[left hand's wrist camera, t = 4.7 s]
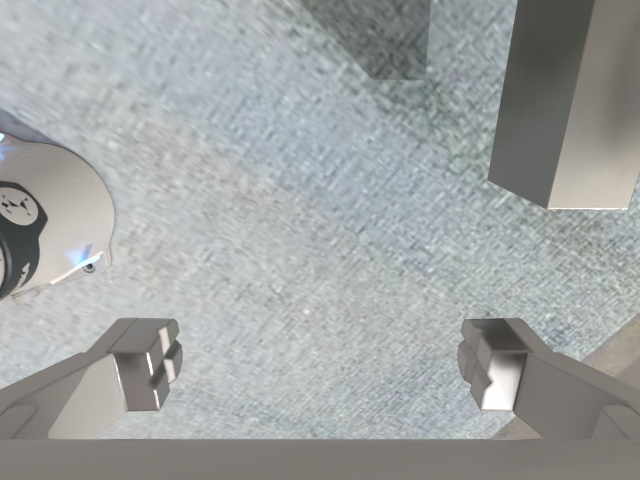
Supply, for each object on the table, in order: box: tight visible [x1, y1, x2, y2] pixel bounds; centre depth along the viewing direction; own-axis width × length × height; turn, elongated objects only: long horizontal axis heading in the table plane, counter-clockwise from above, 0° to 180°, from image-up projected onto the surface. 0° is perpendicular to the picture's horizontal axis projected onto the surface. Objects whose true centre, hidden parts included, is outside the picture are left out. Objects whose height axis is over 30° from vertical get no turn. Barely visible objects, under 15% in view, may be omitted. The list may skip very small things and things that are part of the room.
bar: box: [487, 0, 640, 210], centre depth 24 cm, size 23×6×9 cm, turn 0°
